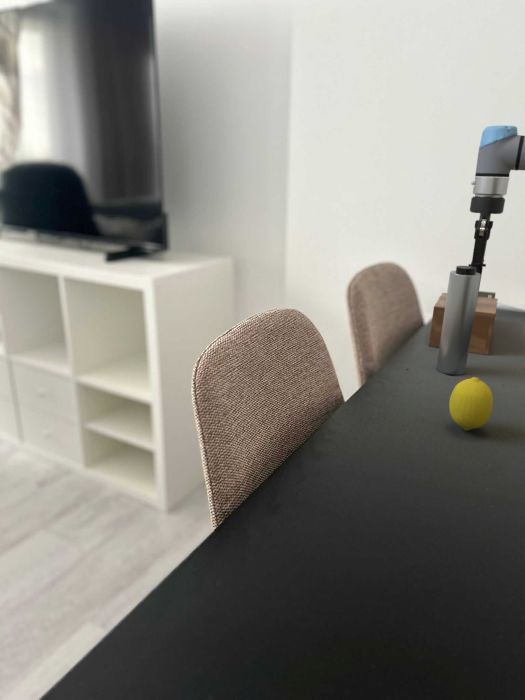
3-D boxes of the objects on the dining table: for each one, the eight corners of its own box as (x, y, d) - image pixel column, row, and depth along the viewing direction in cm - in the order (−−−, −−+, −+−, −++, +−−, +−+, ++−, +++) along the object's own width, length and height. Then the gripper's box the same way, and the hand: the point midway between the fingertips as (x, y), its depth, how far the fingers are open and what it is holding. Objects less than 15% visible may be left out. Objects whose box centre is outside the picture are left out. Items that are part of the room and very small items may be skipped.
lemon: (438, 429, 72) (446, 376, 69) (456, 417, 76) (464, 367, 73) (477, 444, 68) (487, 389, 66) (494, 430, 72) (504, 378, 69)
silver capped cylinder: (451, 364, 97) (466, 264, 91) (471, 373, 93) (488, 268, 87) (430, 367, 95) (444, 265, 89) (449, 376, 91) (466, 270, 85)
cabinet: (437, 328, 120) (442, 292, 117) (491, 335, 115) (497, 298, 112) (428, 346, 107) (433, 306, 104) (488, 355, 103) (495, 313, 100)
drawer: (446, 313, 130) (450, 286, 128) (491, 318, 126) (495, 291, 124) (439, 327, 117) (443, 298, 115) (488, 334, 113) (493, 304, 111)
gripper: (473, 194, 130) (459, 286, 138) (469, 196, 119) (454, 295, 126) (506, 196, 127) (489, 289, 135) (505, 197, 116) (487, 299, 124)
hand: (472, 292), depth 131 cm, fingers closed
